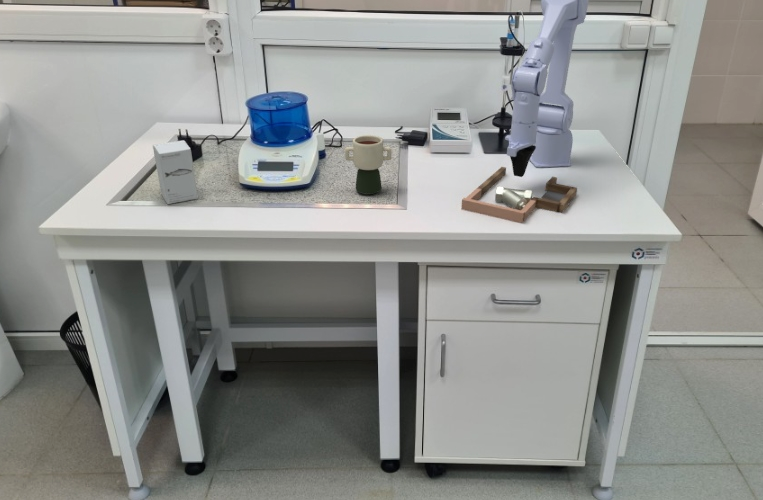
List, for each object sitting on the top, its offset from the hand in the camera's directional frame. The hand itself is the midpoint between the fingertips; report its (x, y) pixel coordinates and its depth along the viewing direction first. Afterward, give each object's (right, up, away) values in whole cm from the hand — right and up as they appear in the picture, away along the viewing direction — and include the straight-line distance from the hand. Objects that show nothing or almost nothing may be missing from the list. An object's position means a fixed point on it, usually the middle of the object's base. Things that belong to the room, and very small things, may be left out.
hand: (518, 175), depth 152 cm
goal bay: (-6, -8, -7) cm, 12 cm away
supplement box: (-81, -5, -1) cm, 81 cm away
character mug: (-36, -4, +2) cm, 36 cm away
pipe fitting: (-3, -8, -6) cm, 10 cm away
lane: (+3, -4, 0) cm, 5 cm away
